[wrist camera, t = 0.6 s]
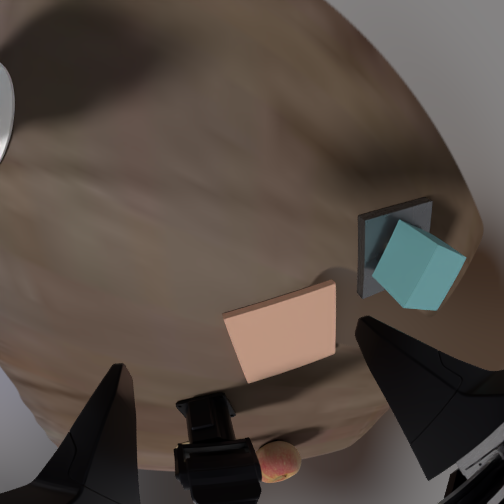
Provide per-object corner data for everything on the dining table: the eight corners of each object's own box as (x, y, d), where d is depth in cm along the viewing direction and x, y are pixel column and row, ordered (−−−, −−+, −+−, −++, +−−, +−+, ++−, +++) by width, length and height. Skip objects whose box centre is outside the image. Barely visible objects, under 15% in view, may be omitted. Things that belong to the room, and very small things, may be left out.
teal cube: (432, 234, 25) (466, 257, 20) (407, 282, 27) (436, 310, 23) (399, 219, 23) (438, 244, 18) (371, 275, 25) (403, 307, 21)
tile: (332, 349, 32) (335, 353, 31) (246, 378, 31) (248, 383, 30) (332, 279, 27) (335, 283, 26) (222, 313, 25) (223, 319, 25)
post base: (417, 267, 29) (449, 294, 24) (356, 292, 28) (387, 328, 23) (424, 197, 25) (465, 218, 20) (357, 215, 24) (399, 244, 19)
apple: (239, 452, 43) (249, 487, 36) (270, 433, 41) (283, 471, 34) (272, 454, 47) (282, 485, 40) (302, 435, 45) (316, 468, 38)
